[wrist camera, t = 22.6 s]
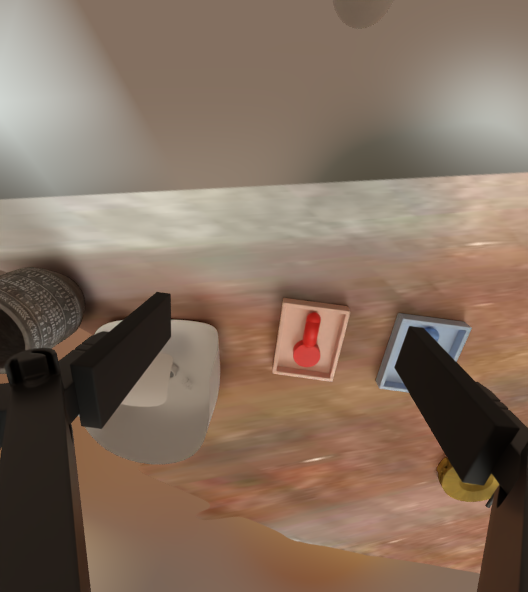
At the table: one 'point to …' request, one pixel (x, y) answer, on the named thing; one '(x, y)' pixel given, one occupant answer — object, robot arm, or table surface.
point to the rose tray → (327, 341)
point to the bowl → (167, 399)
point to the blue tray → (388, 378)
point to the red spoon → (308, 343)
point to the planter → (37, 310)
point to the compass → (464, 485)
